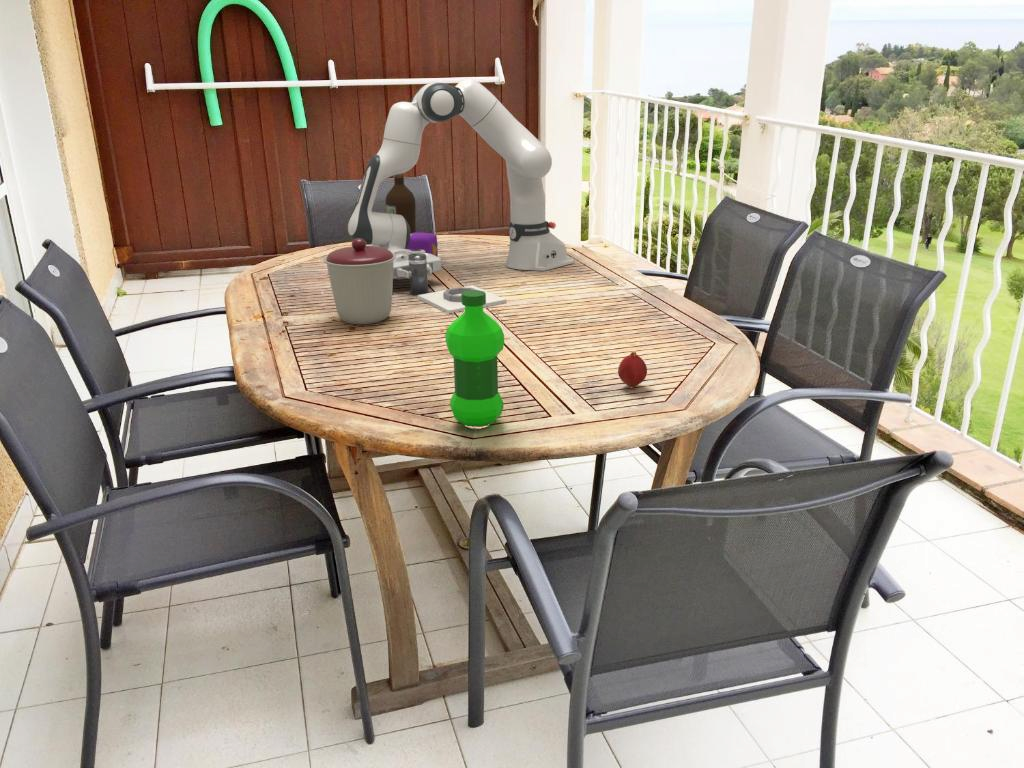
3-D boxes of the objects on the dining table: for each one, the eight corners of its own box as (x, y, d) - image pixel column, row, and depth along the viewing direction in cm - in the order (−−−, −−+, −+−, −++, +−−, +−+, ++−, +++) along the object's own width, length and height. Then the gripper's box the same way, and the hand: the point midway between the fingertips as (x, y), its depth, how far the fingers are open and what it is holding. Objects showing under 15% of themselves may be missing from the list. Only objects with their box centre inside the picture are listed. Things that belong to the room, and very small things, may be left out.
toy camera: (442, 257, 274) (440, 228, 270) (434, 267, 261) (433, 236, 257) (410, 257, 275) (409, 227, 271) (401, 267, 262) (399, 236, 258)
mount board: (473, 288, 237) (472, 280, 236) (506, 302, 223) (506, 294, 222) (418, 298, 228) (417, 289, 227) (449, 314, 214) (448, 305, 213)
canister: (357, 305, 222) (350, 229, 214) (413, 313, 214) (408, 234, 207) (315, 324, 207) (306, 242, 199) (373, 333, 199) (366, 249, 192)
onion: (614, 383, 168) (616, 346, 165) (642, 381, 168) (644, 345, 165) (620, 393, 163) (622, 356, 160) (648, 392, 163) (651, 355, 160)
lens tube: (423, 289, 236) (421, 252, 232) (431, 293, 232) (429, 255, 228) (407, 292, 234) (404, 254, 230) (415, 296, 230) (413, 258, 226)
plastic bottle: (453, 411, 155) (448, 285, 146) (508, 413, 154) (506, 286, 145) (444, 434, 146) (438, 300, 137) (502, 436, 145) (500, 301, 136)
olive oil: (408, 239, 301) (404, 170, 291) (423, 244, 293) (419, 173, 283) (383, 243, 295) (378, 173, 286) (396, 248, 287) (392, 176, 278)
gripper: (365, 258, 235) (385, 267, 224) (427, 248, 245) (450, 257, 234) (366, 279, 237) (387, 289, 226) (428, 269, 247) (451, 278, 236)
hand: (419, 273), depth 230 cm, fingers closed on lens tube, 5 cm apart
